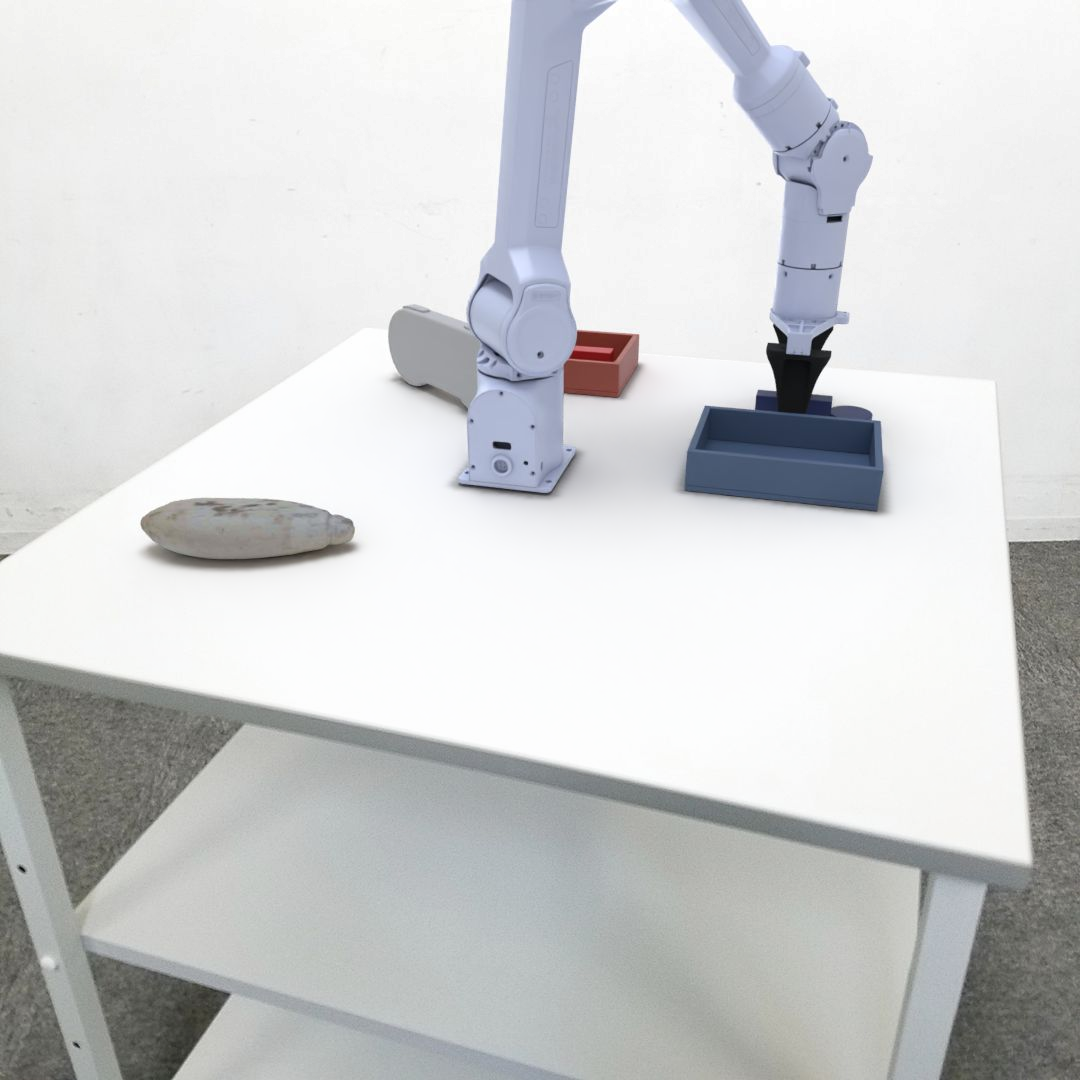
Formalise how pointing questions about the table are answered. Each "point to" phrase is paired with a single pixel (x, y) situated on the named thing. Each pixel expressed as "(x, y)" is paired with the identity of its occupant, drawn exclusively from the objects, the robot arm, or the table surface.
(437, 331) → the game controller
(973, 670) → the table surface
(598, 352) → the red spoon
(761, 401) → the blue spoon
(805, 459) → the blue bin
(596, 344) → the red bin
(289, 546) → the decorative stone
